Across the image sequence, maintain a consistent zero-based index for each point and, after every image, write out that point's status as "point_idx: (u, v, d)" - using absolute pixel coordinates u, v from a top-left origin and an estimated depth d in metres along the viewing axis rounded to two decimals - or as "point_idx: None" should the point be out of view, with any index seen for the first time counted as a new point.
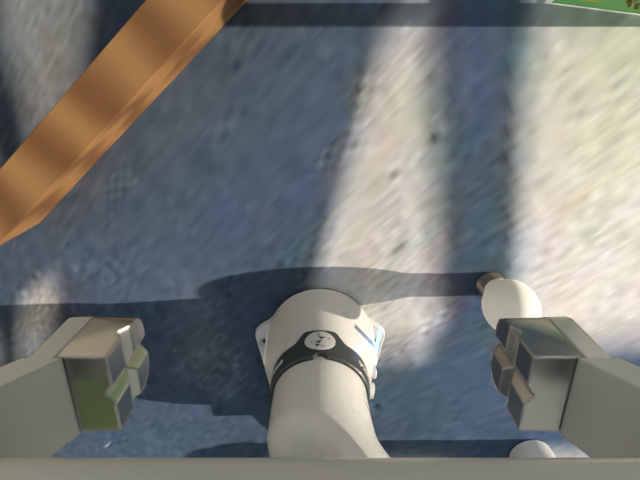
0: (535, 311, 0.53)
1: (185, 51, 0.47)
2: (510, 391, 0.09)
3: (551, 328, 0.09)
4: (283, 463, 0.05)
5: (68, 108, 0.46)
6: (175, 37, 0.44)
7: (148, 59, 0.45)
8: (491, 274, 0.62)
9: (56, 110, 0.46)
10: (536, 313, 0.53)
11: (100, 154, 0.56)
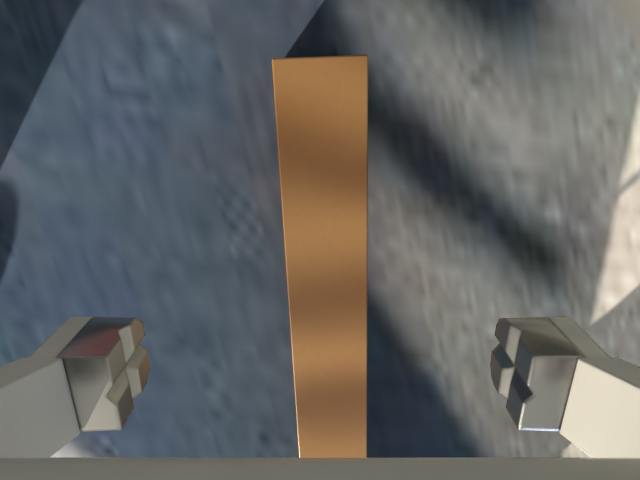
0: None
1: None
2: (510, 391, 0.09)
3: (551, 328, 0.09)
4: (283, 463, 0.05)
5: (350, 364, 0.30)
6: None
7: None
8: None
9: (360, 351, 0.30)
10: None
11: None
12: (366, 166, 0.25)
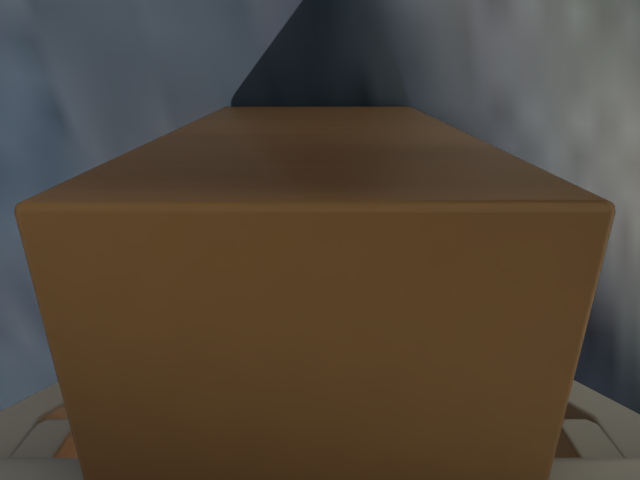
0: None
1: None
2: None
3: None
4: None
5: None
6: None
7: None
8: None
9: None
10: None
11: None
12: None
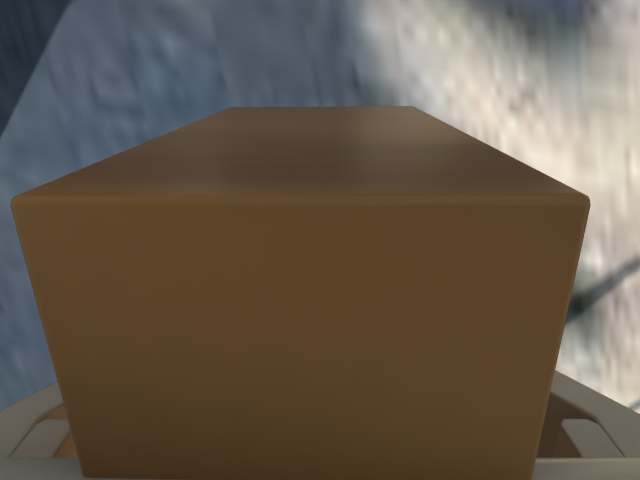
0: None
1: None
2: None
3: None
4: None
5: None
6: None
7: None
8: None
9: None
10: None
11: None
12: None
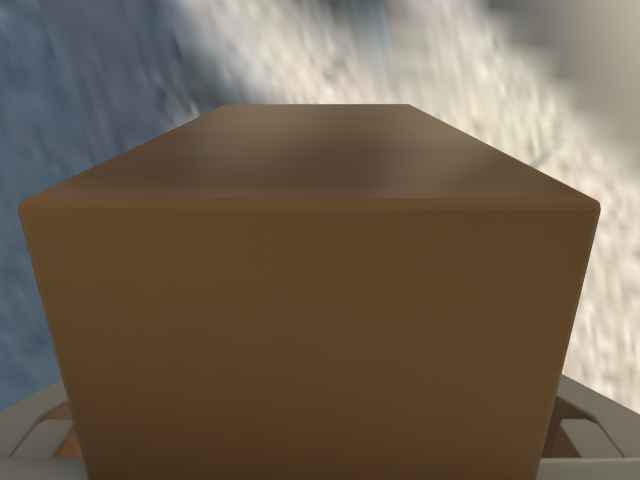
0: None
1: None
2: None
3: None
4: None
5: None
6: None
7: None
8: None
9: None
10: None
11: None
12: None
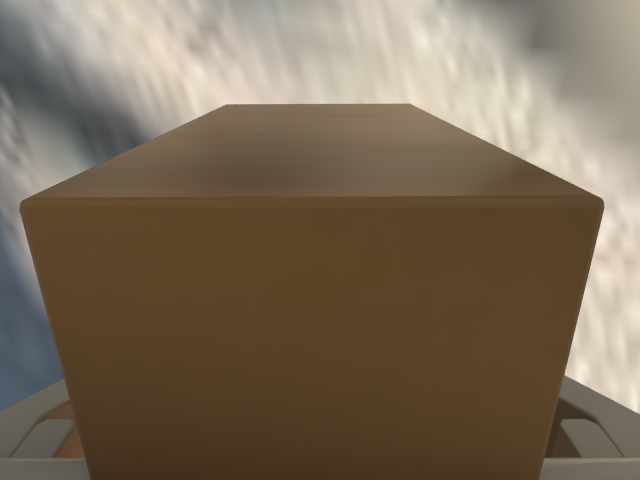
0: None
1: None
2: None
3: None
4: None
5: None
6: None
7: None
8: None
9: None
10: None
11: None
12: None
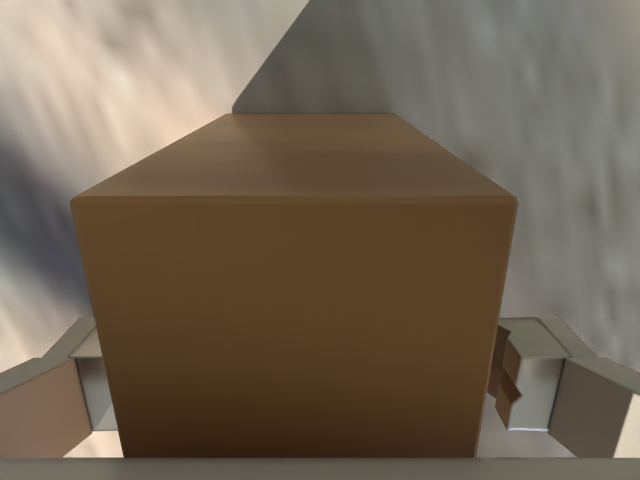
0: None
1: None
2: (499, 391, 0.09)
3: (540, 328, 0.09)
4: (283, 463, 0.05)
5: None
6: None
7: None
8: None
9: None
10: None
11: None
12: None
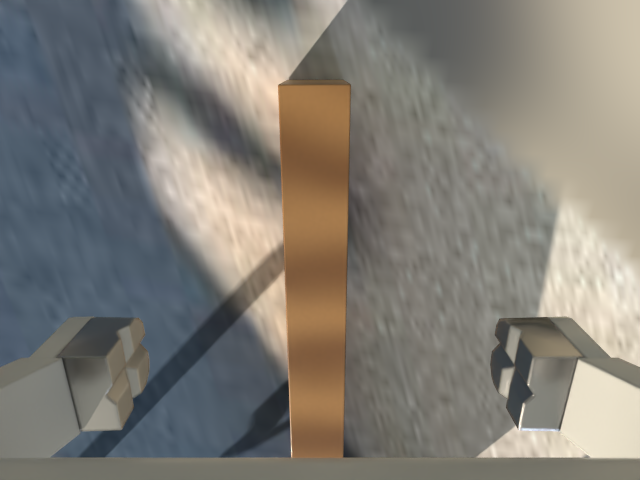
0: None
1: None
2: (510, 391, 0.09)
3: (551, 328, 0.09)
4: (283, 463, 0.05)
5: (332, 326, 0.37)
6: (300, 448, 0.42)
7: (304, 418, 0.41)
8: None
9: (341, 315, 0.37)
10: None
11: None
12: (348, 168, 0.33)
